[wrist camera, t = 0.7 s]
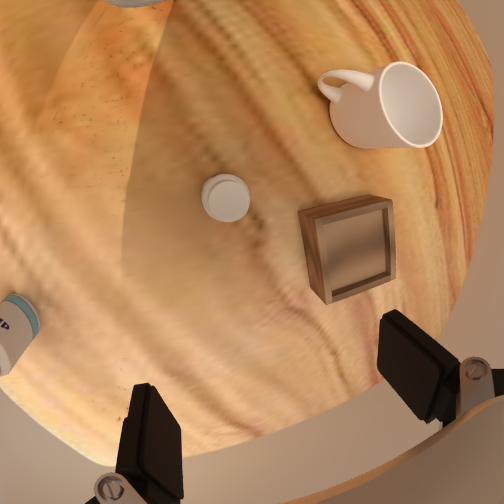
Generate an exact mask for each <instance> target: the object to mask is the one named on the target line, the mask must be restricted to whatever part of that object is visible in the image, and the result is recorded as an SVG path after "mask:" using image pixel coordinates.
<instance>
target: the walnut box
mask: <svg viewBox="0 0 504 504" xmlns="http://www.w3.org/2000/svg"><path fill="white" fill-rule="evenodd" d="M298 215H299V220H300V226H301V232H302V237H303V243H304V249H305V255H306V261H307V267H308V274H309V280H310V287H311V289H312V290H313V291H314V292H315V293H316V294H317V295H318V297H319V298H320V299H321V300H322V301H323V302H324V303H325V304H326V305H328V304H331V303H334V302H337V301H339V300H342V299H345V298H348V297H350V296H353V295H356V294H358V293H361V292H364V291H366V290H369V289H371V288H374V287H376V286H379V285H381V284H384V283H386V282H389V281H391V280H394V279H396V251H395V229H394V215H393V203H392V200H391V199H387V198H383V197H378V196H374V195H365V196H360V197H356V198H352V199H347V200H343V201H339V202H335V203H331V204H326V205H322V206H318V207H314V208H310V209H306V210H302V211H298Z"/></svg>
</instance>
